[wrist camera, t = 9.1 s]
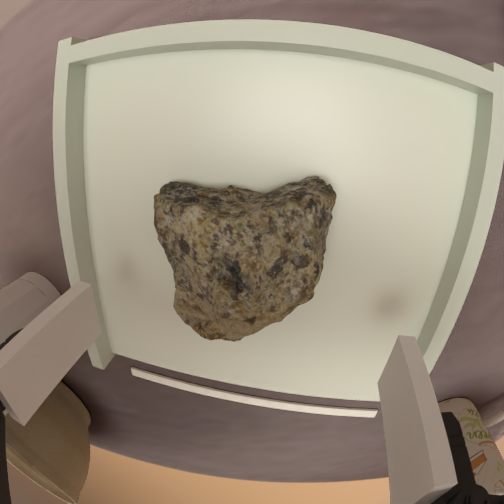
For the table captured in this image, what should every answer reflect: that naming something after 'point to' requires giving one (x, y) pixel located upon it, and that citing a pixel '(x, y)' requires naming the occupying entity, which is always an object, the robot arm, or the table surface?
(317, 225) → the rock
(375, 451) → the table surface
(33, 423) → the planter bowl
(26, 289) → the cup
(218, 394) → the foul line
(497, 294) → the table surface
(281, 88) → the white square tray
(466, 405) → the mug
